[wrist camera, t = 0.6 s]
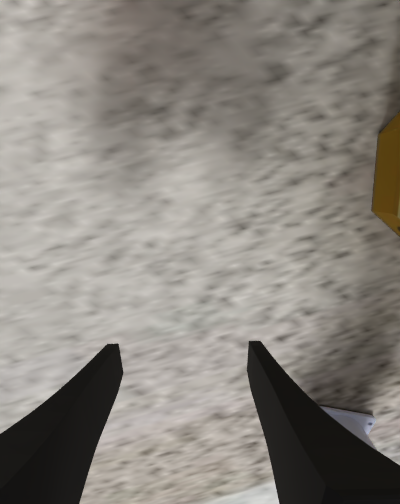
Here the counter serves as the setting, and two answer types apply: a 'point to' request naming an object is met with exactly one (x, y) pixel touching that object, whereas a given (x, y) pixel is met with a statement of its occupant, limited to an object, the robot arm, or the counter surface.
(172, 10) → the counter surface
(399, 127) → the container
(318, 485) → the robot arm
